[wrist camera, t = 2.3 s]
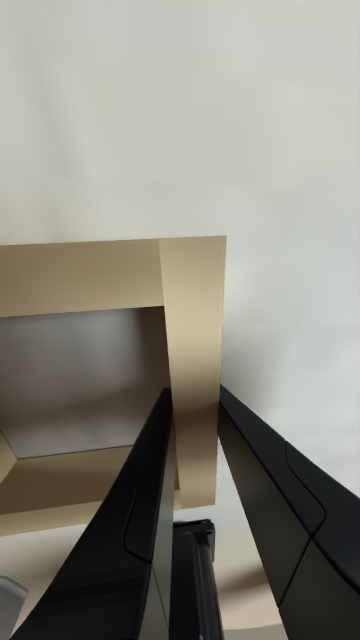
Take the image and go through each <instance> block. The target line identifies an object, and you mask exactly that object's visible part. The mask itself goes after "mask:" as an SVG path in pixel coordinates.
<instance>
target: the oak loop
mask: <svg viewBox="0 0 360 640" xmlns="http://www.w3.org/2000/svg"><path fill="white" fill-rule="evenodd" d="M225 256H226V236H205V237H183V238H161V239H139V240H117V241H95V242H74V243H52V244H30V245H8V246H0V317H10V316H24V315H38V314H52V313H66V312H80V311H94V310H108V309H123V308H137V307H151V306H164V308H165V320H166V332H167V344H168V355H169V367H170V379H171V390H172V402H173V409H174V421H175V433H176V458H175V483H174V508H173V511H174V510H181V509H188V508H195V507H201V506H208V505H215V492H216V468H217V445H218V408H219V397H220V374H221V350H222V327H223V303H224V279H225ZM132 447H133V446H127V447H118V448H110V449H102V450H94V451H86V452H78V453H69V454H61V455H53V456H45V457H37V458H29V459H20V460H18V459H17V458H16V456H15V454H14V453H13V451H12V449H11V448H10V446H9V444H8V443H7V441H6V439H5V438H4V436H3V434H2V433H1V431H0V536H7V535H13V534H20V533H27V532H33V531H40V530H47V529H54V528H60V527H67V526H74V525H80V524H87V523H90V521H91V520H92V518H93V516H94V515H95V513H96V512H97V510H98V508H99V507H100V505H101V503H102V502H103V500H104V498H105V497H106V495H107V494H108V492H109V490H110V488H111V487H112V485H113V483H114V481H115V479H116V477H117V476H118V474H119V472H120V470H121V468H122V466H123V464H124V462H125V461H127V460H126V459H127V457H128V455H129V453H130V451H131V449H132Z"/></svg>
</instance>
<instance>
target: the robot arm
mask: <svg viewBox="0 0 360 640" xmlns="http://www.w3.org/2000/svg"><path fill="white" fill-rule="evenodd" d="M218 436H219V439H220V442H221V445H222V448H223V451H224V454H225V457H226V460H227V463H228V465H229V468H230V471H231V474H232V477H233V480H234V483H235V486H236V489H237V491H238V494H239V497H240V500H241V503H242V506H243V509H244V512H245V515H246V518H247V520H248V523H249V526H250V529H251V532H252V535H253V538H254V541H255V544H256V547H257V549H258V552H259V555H260V558H261V561H262V564H263V567H264V570H265V573H266V576H267V578H268V581H269V584H270V587H271V590H272V593H273V596H274V599H275V602H276V605H277V607H278V608H279V614H280V616H281V619H282V622H283V625H284V628H285V631H286V634H287V637H288V639H289V640H360V498H359V497H357V496H356V495H355V494H353V493H352V492H351V491H349V490H348V489H347V488H345V487H344V486H343V485H341V484H340V483H339V482H337V481H336V480H335V479H333V478H332V477H331V476H330V475H328V474H327V473H326V472H324V471H323V470H322V469H321V468H319V467H318V466H317V465H315V464H314V463H313V462H312V461H310V460H309V459H308V458H307V457H306V456H304V455H303V454H302V453H301V452H300V451H298V450H297V449H296V448H295V447H294V446H292V445H291V444H290V443H289V442H288V441H285V439H284V438H283V437H282V436H281V435H279V434H278V433H277V432H276V431H275V430H274V429H272V428H271V427H270V426H269V425H268V424H267V423H265V422H264V421H263V420H262V419H261V418H260V417H259V416H257V415H256V414H255V413H254V412H253V411H252V410H250V409H249V408H248V407H247V406H246V405H245V404H243V403H242V402H241V401H240V400H239V399H238V398H236V397H235V396H234V395H233V394H232V393H231V392H229V391H228V390H227V389H226V388H225V387H224V386H222V385H221V384H220V397H219V408H218ZM175 458H176V433H175V421H174V409H173V402H172V390H171V387H168V388H163V390H162V392H161V394H160V396H159V398H158V400H157V401H156V403H155V405H154V407H153V409H152V411H151V413H150V415H149V417H148V419H147V421H146V422H145V424H144V426H143V428H142V430H141V432H140V434H139V436H138V438H137V440H136V442H135V444H134V445H133V447H132V449H131V451H130V453H129V455H128V457H127V459H126V460H127V461H125V462H124V464H123V466H122V468H121V470H120V472H119V474H118V476H117V477H116V479H115V481H114V483H113V485H112V487H111V488H110V490H109V492H108V494H107V495H106V497H105V498H104V500H103V502H102V503H101V505H100V507H99V508H98V510H97V512H96V513H95V515H94V516H93V518H92V520H91V521H90V523H89V524H88V526H87V527H86V529H85V531H84V532H83V534H82V535H81V537H80V538H79V540H78V542H77V543H76V545H75V546H74V548H73V549H72V551H71V553H70V554H69V556H68V557H67V559H66V560H65V562H64V564H63V565H62V567H61V568H60V570H59V571H58V573H57V575H56V576H55V578H54V579H53V581H52V582H51V584H50V585H49V587H48V588H47V590H46V591H45V593H44V594H43V596H42V597H41V599H40V600H39V602H38V603H37V604H36V606H35V607H34V609H33V610H32V611H31V612H30V614H29V615H28V616H27V618H26V619H25V620H24V622H23V623H22V624H21V625H20V627H19V628H18V629H17V630H16V631H15V633H14V634H13V635H12V636H11V637H10V639H9V640H225V639H224V633H223V626H222V620H221V614H220V607H219V601H218V595H217V588H216V582H215V576H214V569H213V562H214V550H215V527H214V523H211V522H209V523H202V524H196V525H189V526H183V527H177V528H173V508H174V483H175Z"/></svg>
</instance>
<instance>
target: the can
mask: <svg viewBox="0 0 360 640" xmlns="http://www.w3.org/2000/svg"><path fill="white" fill-rule="evenodd" d="M27 593H28V590H27V589H26V588H24V587H22V586H21V585H19V584H18V583H16V582H15V581H13V580H12V579H10V578H8V577H5V576H0V640H9V639H10V636H11V634H12V631H13V629H14V626H15V624H16V621H17V619H18V616H19V614H20V612H21V609H22V607H23V604H24V601H25V598H26V596H27Z"/></svg>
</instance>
